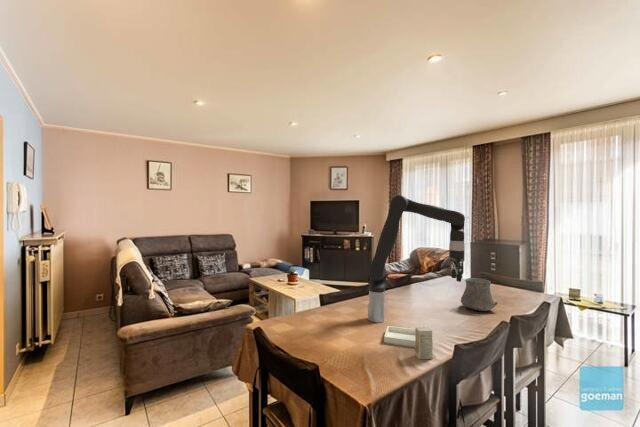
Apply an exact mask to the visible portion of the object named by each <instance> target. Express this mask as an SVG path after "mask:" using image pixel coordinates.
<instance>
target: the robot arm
mask: <svg viewBox="0 0 640 427" xmlns="http://www.w3.org/2000/svg"><path fill="white" fill-rule="evenodd" d="M404 212H405V213H406V212H407V213H414V214H418V215H420V216H423V217H426V218H429V219H433V220H436V221H441V222H446V223H448V224H450V234H449V243H448V244H449V246H448V258H450V259H449V269H450V272H451V276H450V277H451V279H456V282H457V283H458V282H462V275H464V262H463V261H462V260H464V259H465V255H466V254H465V251H466V250H465V249H466V248H465V247H466V246H465V245H466V244H465V223H466V222H465V221H466V217H465V214H464V213H462V212H460V211H457V210H452V209H447V208H444V207H441V206H436V205H431V204H426V203H422V202H417V201H413V200H412V199H409V198H407V197H405V196H404V195H400V194H398V195H394V196H393V197H392V198H391V200H390V203H389V208H388V213H387V217H386V220H385V222H384V225H383V227H382V230H381V232H380V234H379V235H380V236H379V238H378V242H377V246H376V248H375V249H376V250H375V253H374V256H373V258H372V260H371V263H370V265H369V267H368V269H367V270H368V271H367V274H368V276H369V278H370V283H369V286H368V304H367V321H369V322H372V323H384V322H385V316H386V315H385V312H386V308H385V303H386V286H387V269H386V263H387V260H388V258H389V256H390V255H391V252H392V251H393V249H394V247H395V244H396V242H397V238H398V234H399V228H400V220H401V218H402V215H403V213H404Z"/></svg>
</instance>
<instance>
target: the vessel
mask: <svg viewBox="0 0 640 427" xmlns="http://www.w3.org/2000/svg"><path fill="white" fill-rule="evenodd" d="M491 283H492V282H491V280H487V279H485V278H480V277H469V278H468V277H467V278H465V289H464V291H463V293H462V296H461V298H460V303H461V304H462V306H463V307H465V308H468V309H470V310H473V311H477V310H478V311H479V312H488V311H491V310H493V309H494V308H495V307H496V306H497V305H498V304H499V303H498V301H494V298H493V295H492V293H491Z"/></svg>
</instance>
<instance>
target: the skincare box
mask: <svg viewBox="0 0 640 427" xmlns="http://www.w3.org/2000/svg"><path fill="white" fill-rule="evenodd" d="M414 329H415V346H416V348H415V356H416V358H417V359H418V360H432V359H433V356H434V355H433V350H432V341H433V330H432V329H431V328H430V327H429V326H428V327H426V326H425V327H424V326H423V327H415V328H414Z"/></svg>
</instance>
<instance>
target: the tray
mask: <svg viewBox="0 0 640 427" xmlns="http://www.w3.org/2000/svg"><path fill="white" fill-rule="evenodd" d="M433 341H434V340H432V351H433V350H434V349H433V348H434V347H433V345H434V342H433ZM383 343H384V344H389V345H395V346H402V347H409V348H415V349H416V346H415V328H409V327H400V326H391V325H387V327H386V330H385V333H384V335H383Z"/></svg>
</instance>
